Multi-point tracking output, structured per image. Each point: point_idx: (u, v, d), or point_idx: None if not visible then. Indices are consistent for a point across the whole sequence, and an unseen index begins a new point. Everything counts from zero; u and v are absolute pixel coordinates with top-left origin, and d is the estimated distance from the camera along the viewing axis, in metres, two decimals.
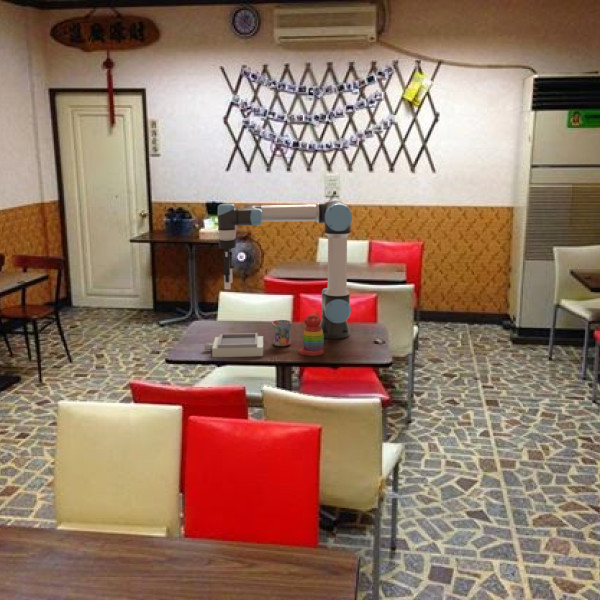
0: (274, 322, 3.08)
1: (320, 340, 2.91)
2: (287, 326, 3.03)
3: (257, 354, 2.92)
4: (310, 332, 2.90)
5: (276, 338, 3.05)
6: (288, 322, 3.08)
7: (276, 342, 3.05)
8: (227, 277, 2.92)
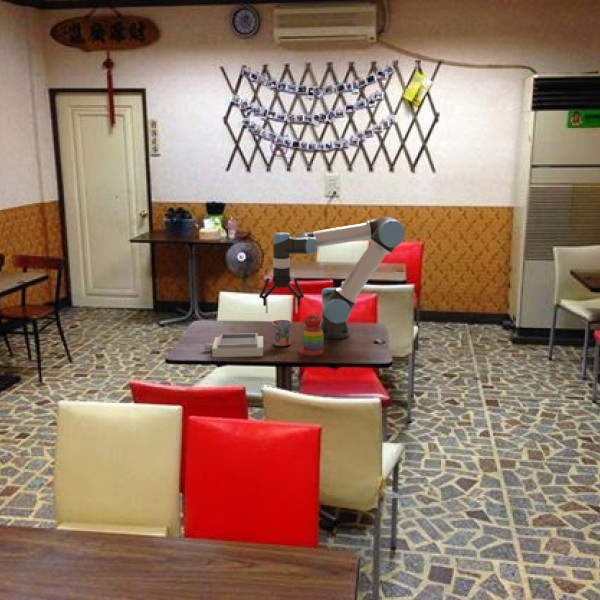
0: (274, 322, 3.08)
1: (320, 340, 2.91)
2: (287, 326, 3.03)
3: (257, 354, 2.92)
4: (310, 332, 2.90)
5: (276, 338, 3.05)
6: (288, 322, 3.08)
7: (276, 342, 3.05)
8: (263, 301, 3.04)
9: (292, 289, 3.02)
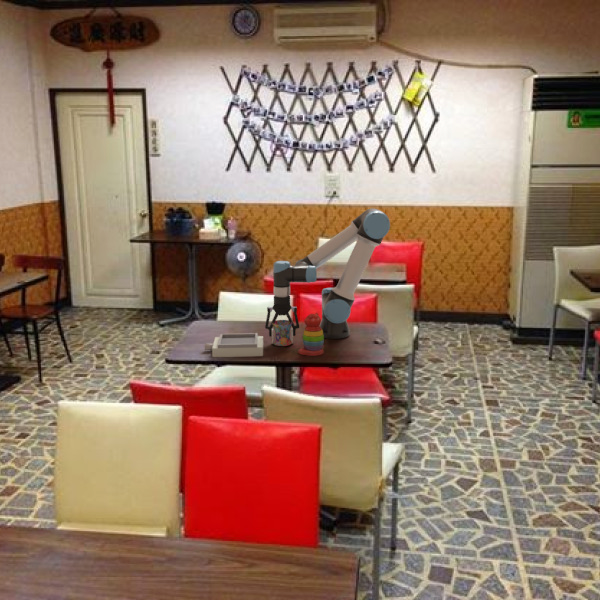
0: (275, 322, 3.08)
1: (320, 340, 2.91)
2: (288, 326, 3.03)
3: (257, 354, 2.92)
4: (310, 332, 2.90)
5: (277, 338, 3.05)
6: (289, 322, 3.08)
7: (277, 342, 3.05)
8: (269, 331, 3.08)
9: (290, 319, 3.06)
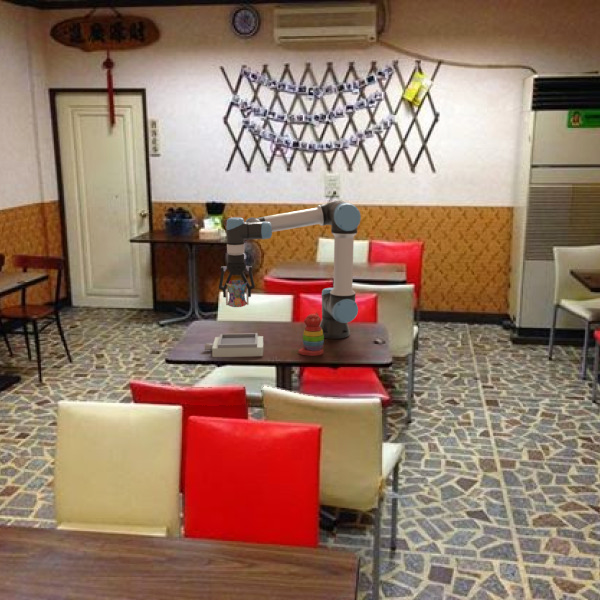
0: (229, 282, 2.94)
1: (320, 340, 2.91)
2: (242, 286, 2.88)
3: (257, 354, 2.92)
4: (310, 332, 2.90)
5: (231, 299, 2.91)
6: (244, 282, 2.94)
7: (231, 303, 2.90)
8: (223, 292, 2.93)
9: (245, 278, 2.91)
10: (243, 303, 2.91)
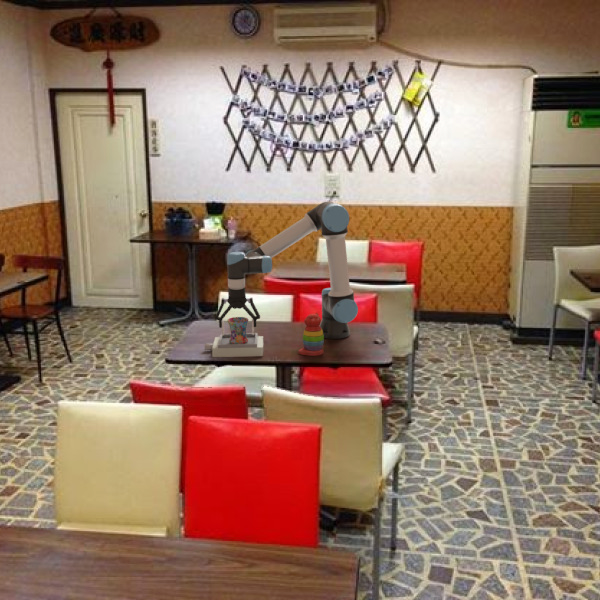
0: (230, 319, 2.98)
1: (320, 340, 2.91)
2: (243, 323, 2.92)
3: (257, 354, 2.92)
4: (310, 332, 2.90)
5: (232, 336, 2.95)
6: (245, 319, 2.98)
7: (232, 340, 2.94)
8: (219, 322, 2.96)
9: (248, 310, 2.94)
10: (244, 340, 2.95)
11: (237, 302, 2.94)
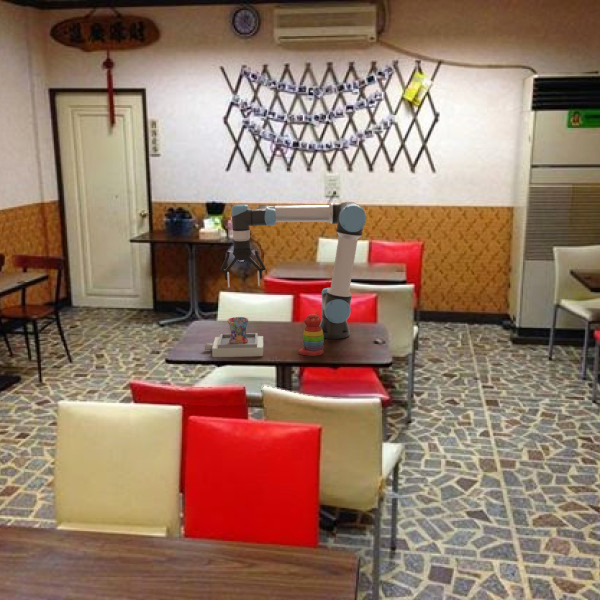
0: (230, 319, 2.97)
1: (320, 340, 2.91)
2: (243, 323, 2.92)
3: (257, 354, 2.92)
4: (310, 332, 2.90)
5: (232, 336, 2.95)
6: (245, 319, 2.98)
7: (232, 340, 2.94)
8: None
9: (253, 262, 2.99)
10: (244, 340, 2.95)
11: (242, 254, 2.98)
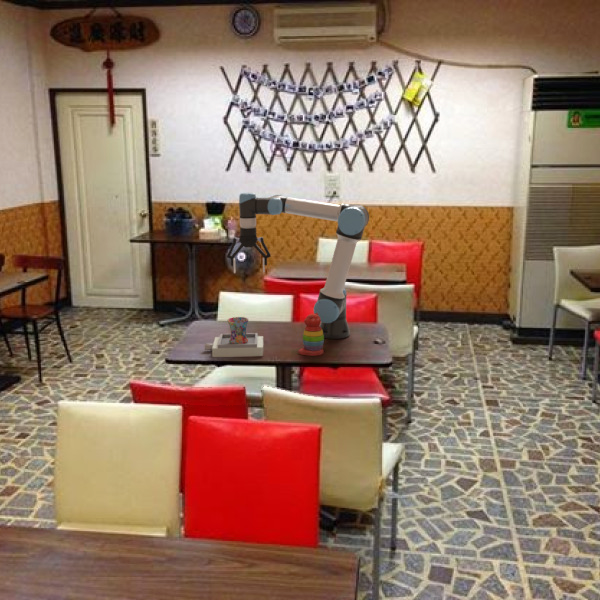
0: (230, 319, 2.97)
1: (320, 340, 2.91)
2: (243, 323, 2.92)
3: (257, 354, 2.92)
4: (310, 332, 2.90)
5: (232, 336, 2.95)
6: (245, 319, 2.98)
7: (232, 340, 2.94)
8: None
9: (259, 249, 3.08)
10: (244, 340, 2.95)
11: (248, 241, 3.08)
